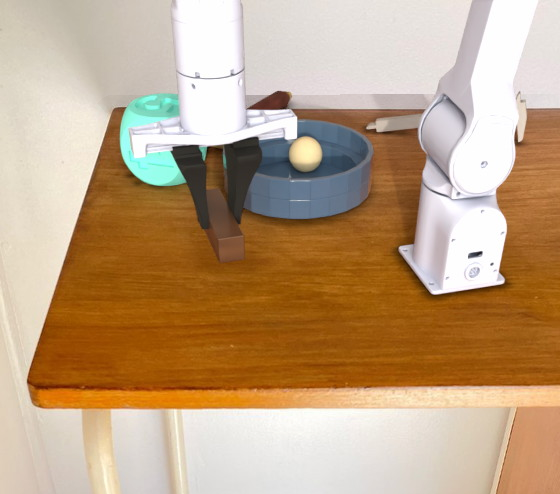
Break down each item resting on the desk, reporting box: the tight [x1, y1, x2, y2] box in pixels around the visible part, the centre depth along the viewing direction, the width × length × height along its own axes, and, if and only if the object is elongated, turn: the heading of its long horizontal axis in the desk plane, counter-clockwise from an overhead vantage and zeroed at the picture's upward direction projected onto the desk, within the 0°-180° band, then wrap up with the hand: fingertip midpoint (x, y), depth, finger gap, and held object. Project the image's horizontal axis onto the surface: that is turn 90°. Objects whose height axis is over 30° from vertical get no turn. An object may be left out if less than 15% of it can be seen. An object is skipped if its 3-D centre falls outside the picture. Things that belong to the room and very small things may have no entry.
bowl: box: [222, 118, 375, 220], centre depth 99 cm, size 17×17×5 cm
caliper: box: [365, 90, 528, 143], centre depth 110 cm, size 20×1×6 cm, turn 77°
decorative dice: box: [119, 92, 208, 187], centre depth 101 cm, size 8×8×8 cm
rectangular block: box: [203, 187, 246, 264], centre depth 80 cm, size 10×2×2 cm, turn 16°
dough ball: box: [289, 136, 322, 172], centre depth 102 cm, size 4×4×4 cm
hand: (219, 222), depth 79 cm, fingers closed on rectangular block, 2 cm apart
